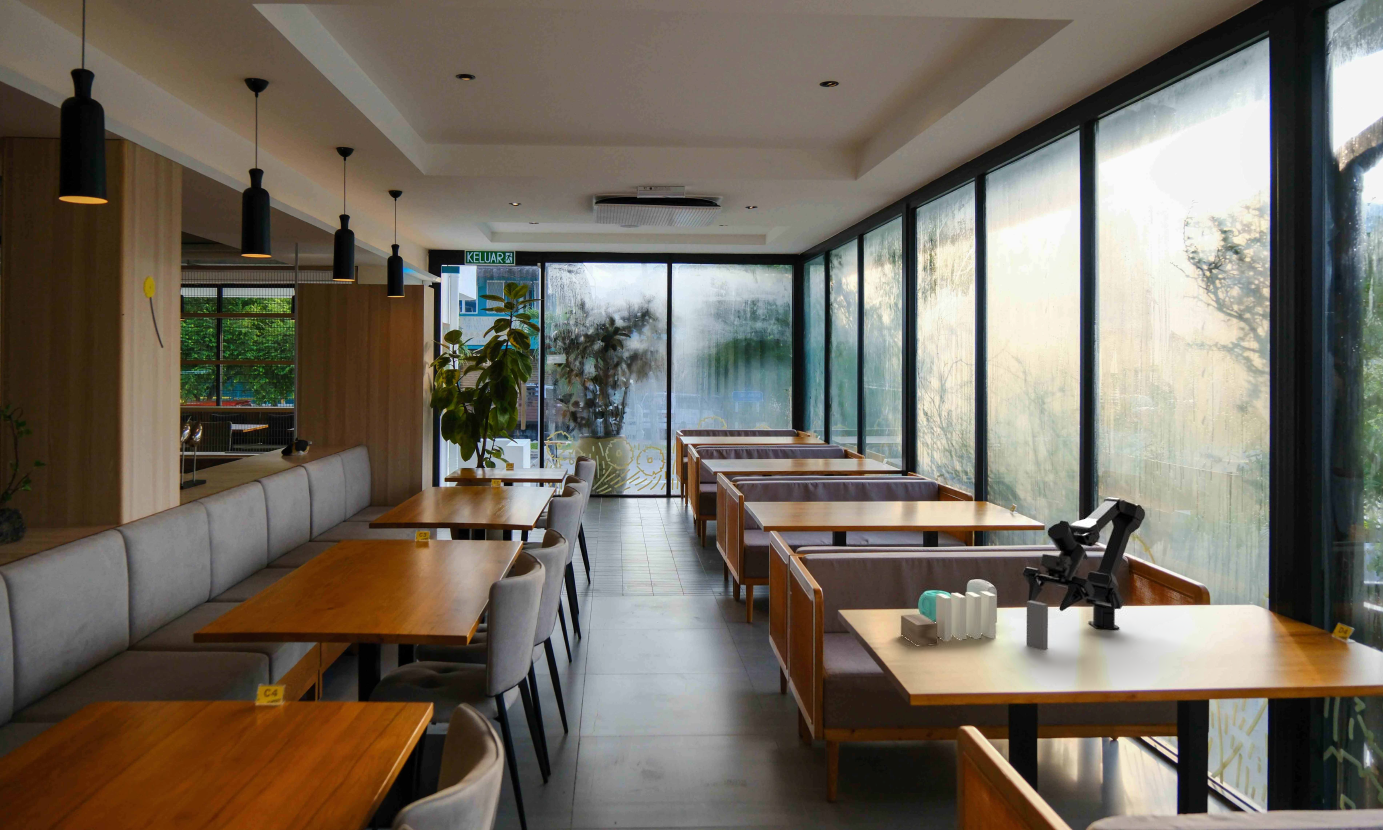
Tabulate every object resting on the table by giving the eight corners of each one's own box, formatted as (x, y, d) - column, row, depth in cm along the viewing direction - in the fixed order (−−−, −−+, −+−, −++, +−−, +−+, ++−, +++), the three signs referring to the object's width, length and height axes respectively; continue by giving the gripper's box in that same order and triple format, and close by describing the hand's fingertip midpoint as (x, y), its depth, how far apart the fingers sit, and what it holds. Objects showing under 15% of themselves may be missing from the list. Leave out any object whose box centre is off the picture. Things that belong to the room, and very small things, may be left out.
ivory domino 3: (971, 633, 239) (971, 591, 239) (981, 638, 234) (981, 596, 234) (965, 634, 239) (965, 592, 238) (974, 639, 234) (974, 596, 233)
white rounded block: (964, 617, 256) (964, 577, 256) (976, 615, 258) (976, 576, 257) (987, 626, 247) (987, 584, 246) (999, 624, 248) (999, 583, 248)
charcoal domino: (1030, 643, 229) (1031, 600, 229) (1047, 648, 225) (1047, 604, 225) (1026, 645, 228) (1026, 601, 228) (1043, 649, 224) (1043, 605, 224)
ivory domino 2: (957, 634, 238) (957, 592, 238) (966, 639, 233) (966, 596, 233) (950, 634, 238) (950, 593, 238) (959, 640, 233) (959, 597, 233)
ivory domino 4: (986, 632, 240) (986, 591, 240) (995, 637, 235) (995, 595, 235) (979, 633, 240) (980, 591, 239) (989, 638, 235) (989, 595, 234)
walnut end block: (920, 634, 239) (920, 613, 239) (937, 644, 229) (937, 623, 229) (900, 635, 238) (901, 615, 238) (916, 645, 228) (916, 624, 228)
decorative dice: (956, 620, 253) (956, 594, 253) (938, 624, 249) (938, 597, 248) (935, 614, 260) (935, 588, 259) (917, 618, 255) (917, 592, 255)
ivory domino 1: (942, 635, 237) (942, 593, 237) (951, 640, 232) (951, 597, 232) (936, 635, 237) (936, 593, 237) (944, 641, 232) (944, 598, 232)
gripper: (1026, 538, 239) (1002, 581, 233) (1089, 548, 223) (1065, 595, 217) (1042, 562, 243) (1018, 606, 237) (1104, 574, 228) (1081, 620, 222)
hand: (1044, 606), depth 228 cm, fingers open, 9 cm apart
